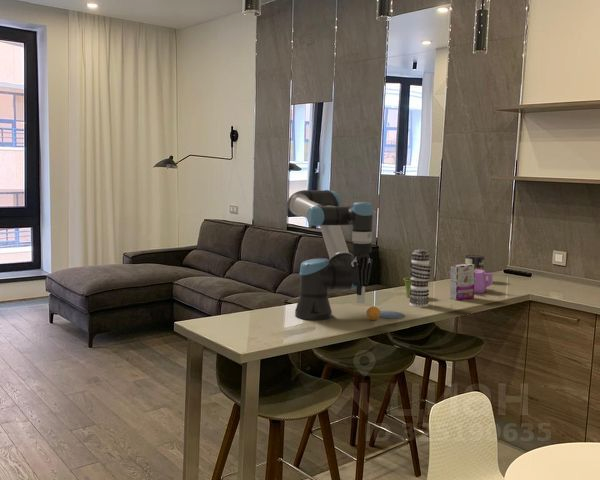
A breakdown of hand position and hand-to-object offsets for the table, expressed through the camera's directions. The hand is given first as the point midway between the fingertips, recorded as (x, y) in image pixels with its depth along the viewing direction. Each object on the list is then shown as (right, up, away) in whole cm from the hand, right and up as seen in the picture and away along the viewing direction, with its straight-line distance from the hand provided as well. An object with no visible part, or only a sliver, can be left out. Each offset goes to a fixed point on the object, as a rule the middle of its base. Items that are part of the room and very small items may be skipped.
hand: (360, 302), depth 238 cm
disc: (+14, -7, +18) cm, 23 cm away
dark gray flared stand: (+73, +1, +104) cm, 127 cm away
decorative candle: (+30, -5, +39) cm, 49 cm away
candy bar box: (+54, -4, +54) cm, 76 cm away
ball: (+6, -5, +8) cm, 11 cm away
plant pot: (+31, -3, +57) cm, 64 cm away
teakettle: (+63, -2, +75) cm, 98 cm away
